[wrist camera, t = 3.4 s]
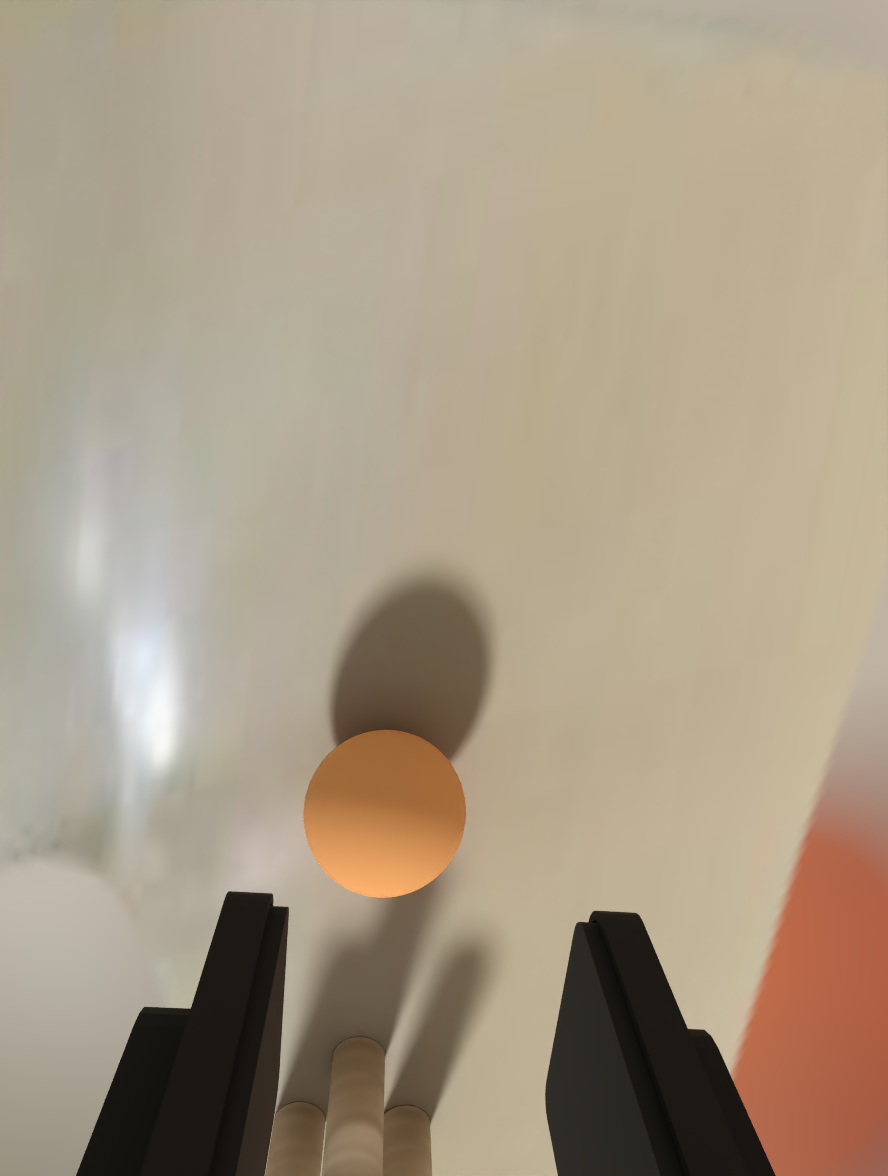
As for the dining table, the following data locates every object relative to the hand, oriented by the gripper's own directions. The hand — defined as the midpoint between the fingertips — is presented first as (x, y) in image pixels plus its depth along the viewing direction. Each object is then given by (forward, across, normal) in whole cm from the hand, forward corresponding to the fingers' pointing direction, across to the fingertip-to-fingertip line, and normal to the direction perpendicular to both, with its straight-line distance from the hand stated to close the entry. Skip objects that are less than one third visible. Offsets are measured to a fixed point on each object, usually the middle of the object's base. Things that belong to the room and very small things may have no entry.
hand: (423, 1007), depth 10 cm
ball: (+18, 0, +9) cm, 20 cm away
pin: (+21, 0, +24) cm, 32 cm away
